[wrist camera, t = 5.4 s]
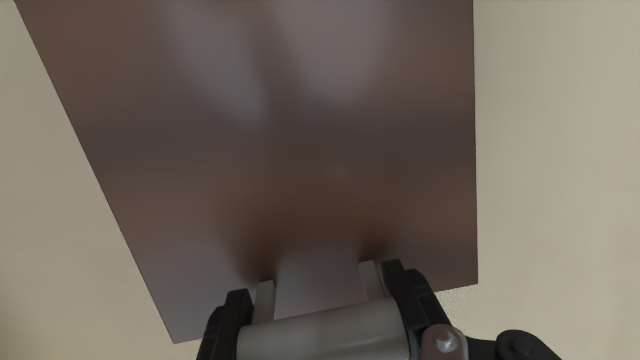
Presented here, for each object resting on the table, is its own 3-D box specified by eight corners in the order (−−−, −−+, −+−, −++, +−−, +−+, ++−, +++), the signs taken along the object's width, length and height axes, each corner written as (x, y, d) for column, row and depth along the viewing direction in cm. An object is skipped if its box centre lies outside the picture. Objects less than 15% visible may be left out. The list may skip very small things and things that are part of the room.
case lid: (471, 275, 16) (547, 372, 11) (178, 333, 16) (127, 454, 11) (458, -197, 10) (617, -439, 5) (-18, -99, 10) (-317, -243, 5)
